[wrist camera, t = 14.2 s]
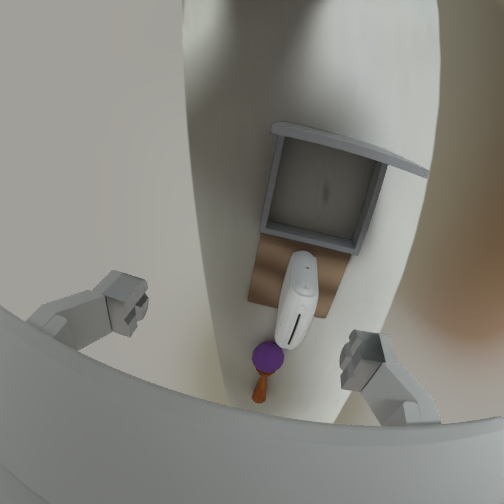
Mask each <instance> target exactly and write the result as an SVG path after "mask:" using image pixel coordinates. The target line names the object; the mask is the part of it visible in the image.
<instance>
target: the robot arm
mask: <svg viewBox="0 0 504 504" xmlns="http://www.w3.org/2000/svg"><path fill="white" fill-rule="evenodd" d="M147 289H148V286H147V282H146V280H144V279H141V278H138V277H135V276H132V275H128V274H126V273H122V272H119V271H116V270H112V271H111V272H110V273H109V274H108V275H107V276H106V277H105V278H104V279H103V280H102V281H101V282H100V283H99V284H98V285H97V286H96V287H95V288H94V289H93V290H92V291H91V290H86V291H83V292H80V293H77V294H74V295H71V296H68V297H65V298H62V299H59V300H55V301H52V302H49V303H46V304H43V305H41V306H40V307H39V308H38V309H37V310H36V311H35V312H34V313H33V314H32V315H31V316H30V317H29V318H28V319H27V321H23V320H21V319H20V318H18V317H17V316H15V315H14V314H12V313H11V312H9V311H8V310H6V309H5V308H3V307H2V306H1V305H0V504H504V417H501V416H499V417H492V418H487V419H481V420H475V421H468V422H460V423H451V424H441V421H440V416H439V413H438V409H437V405H436V401H435V400H434V399H433V398H432V397H431V396H430V395H429V394H428V393H427V392H426V391H425V389H424V388H423V387H422V386H421V385H420V384H419V383H418V382H417V381H416V380H415V379H414V378H413V377H412V376H411V375H410V374H409V373H408V371H407V370H405V368H404V367H403V366H402V365H400V364H397V359H396V356H395V352H394V349H393V345H392V342H391V338H390V336H389V335H388V334H381V333H373V332H366V331H360V330H355V329H354V330H353V331H352V332H351V334H350V336H349V340H350V342H348V343H347V344H345V345H344V347H343V349H342V351H341V355H340V368H341V369H342V370H343V373H342V374H341V389H344V390H351V391H359V392H361V394H362V396H363V397H364V399H365V400H366V402H367V403H368V405H369V407H370V408H371V410H372V411H373V413H374V414H375V416H376V418H377V419H378V421H379V422H380V424H381V426H359V425H343V424H332V423H322V422H313V421H305V420H298V419H291V418H284V417H278V416H273V415H267V414H262V413H257V412H252V411H247V410H243V409H238V408H234V407H230V406H226V405H222V404H218V403H214V402H210V401H207V400H203V399H199V398H196V397H192V396H189V395H186V394H183V393H180V392H177V391H174V390H170V389H168V388H165V387H162V386H159V385H156V384H153V383H150V382H148V381H145V380H142V379H140V378H137V377H135V376H132V375H130V374H127V373H125V372H122V371H120V370H117V369H115V368H113V367H110V366H108V365H106V364H104V363H101V362H99V361H97V360H95V359H93V358H91V357H88V356H86V355H84V354H82V353H80V352H78V350H80V349H82V348H84V347H86V346H87V345H89V344H91V343H93V342H95V341H97V340H99V339H100V338H102V337H104V336H106V335H108V334H109V333H111V332H112V331H113V332H116V333H119V334H121V335H124V336H127V337H131V335H132V334H133V332H134V331H135V329H136V328H137V321H140V320H142V319H143V318H144V316H145V315H146V312H147V309H148V297H147V295H146V294H145V292H146V290H147Z"/></svg>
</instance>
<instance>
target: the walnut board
mask: <svg viewBox="0 0 504 504" xmlns="http://www.w3.org/2000/svg"><path fill="white" fill-rule="evenodd" d="M297 251H307V252H309V253H311V254H312V255H313V257H316V262H317V276H318V290H319V294H318V302H317V307H316V310H315V313H314V316H317V317H321V318H326V316H327V313H328V311H329V309H330V306H331V304H332V302H333V299H334V297H335V294H336V292H337V290H338V287H339V285H340V282H341V279H342V277H343V274H344V272H345V269H346V267H347V264H348V261H349V259H350V256H351V254H349V253H345V252H341V251H337V250H333V249H329V248H325V247H320V246H316V245H312V244H308V243H304V242H299V241H295V240H291V239H286V238H282V237H278V236H273V235H269V234H265V233H261V238H260V243H259V248H258V253H257V257H256V262H255V267H254V272H253V277H252V281H251V286H250V291H249V296H248V300H247V301H249V302H253V303H257V304H261V305H266V306H270V307H275V308H278V306H279V299H280V294H281V289H282V285H283V281H284V278H285V274H286V271H287V267H288V264H289V261H290V259H291V256H292V254H293V253H294V252H297Z"/></svg>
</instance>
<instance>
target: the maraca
mask: <svg viewBox="0 0 504 504" xmlns="http://www.w3.org/2000/svg"><path fill="white" fill-rule="evenodd" d="M252 360H253V363H254V365H255V366H256V370H257V371H258V372H259V374H260V375H261V377H260V380H259V382H258V384H257V386H256V388H255V391H254V393H253V395H252V399H253V401H254V402H256V403H263V402H264V401H265V400H266V382H267V376H269V375H271V374H273V373H274V372H275V371H276V370H277V369H279V368H280V367H281V365H282V364H283V361H284V354H283V352H282V349H281V348H280V347H279V346H278V345H277V344H275V343H272V342H265V343H262V344H260V345H259V346H257V347H256V349H255V350H254V352H253V358H252Z"/></svg>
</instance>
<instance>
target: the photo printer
mask: <svg viewBox="0 0 504 504" xmlns="http://www.w3.org/2000/svg"><path fill="white" fill-rule="evenodd" d="M318 294H319V290H318V276H317V262H316V257H313V255H312V254H311V253H309V252H307V251H297V252H294V253H293V254H292V256H291V259H290V261H289V264H288V267H287V271H286V274H285V278H284V281H283V285H282V289H281V294H280V299H279V306H278V313H277V320H276V327H275V341H276V343H277V345H278V346H280V347H281V348H286V349H289V350H292V349H295V348H296V347H297V346H298V345H299V344H300V343H301V342H302V341H303V339H304V337H305V335H306V333H307V331H308V329H309V327H310V324H311V322H312V319H313V316H314V313H315V310H316V307H317V302H318Z"/></svg>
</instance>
